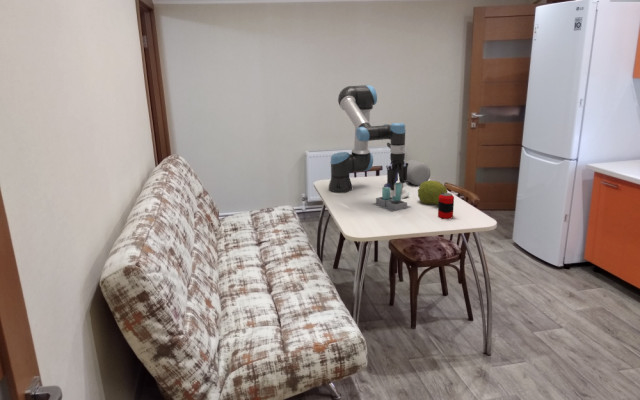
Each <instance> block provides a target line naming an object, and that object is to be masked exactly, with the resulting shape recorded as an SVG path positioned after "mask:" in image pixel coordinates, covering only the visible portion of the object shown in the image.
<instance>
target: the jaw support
mask: <svg viewBox="0 0 640 400" xmlns="http://www.w3.org/2000/svg"><path fill="white" fill-rule="evenodd" d="M409 195H410V193H409V192H408V190H407V189H406V188H405V187H403V195H401V200H403V199H405V198H406V197H407V198H408V196H409ZM390 197H392V198H393V196H392V195H391V188H390Z"/></svg>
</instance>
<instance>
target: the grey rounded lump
mask: <svg viewBox="0 0 640 400" xmlns="http://www.w3.org/2000/svg"><path fill="white" fill-rule="evenodd" d="M405 163H408V167H407V181H406V182H408V183H410V184H412V185H414V186H416V187H417V186H418V187H420V185H421V184H422V183H423V182H426V181H430V177H431V168H429V166H428V165H427V164H426V163H423V162H421V161H419V160H415V159H409V160H407V161H405ZM404 179H405V178H404Z"/></svg>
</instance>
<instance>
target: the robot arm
mask: <svg viewBox="0 0 640 400" xmlns="http://www.w3.org/2000/svg"><path fill="white" fill-rule="evenodd" d="M337 101H338V106H339V107H340V108H341V110H342V111H344V113H346V115H347V116H348V118H349V120H350V121H351V123H352V125H354V128H355V129H354V145H353V148H352V149H351V153H349V151H341V152H340V151H339V152H337V153H334V154H332V155H331V156H330V180H329V185H328V191H329V192H332V193H340V194H341V193H348V192H349V193H350V192H351V191H352V190H353V184H352V180H351V179H350V173H359V172H360V173H361V172H362V173H364V172H367V171H369V170H371V169H372V167H373V164H374V158H373V157H374V156H373V154H372V152H371V150H370V149H369V142H370V141H380V140H382V141H383V140H390V144H391V147H390V148H389V149H390V155H389V157H390V158H389V159H390V164H389V165H386V167H385V168H386V171H387V173H386V175H387V176H386V178H387V179H386V181H387V182H386V183H389V184H391V195H392V196H394V197H395V196H396V184H395V179H396V173H397V171H398V181H399V182H398V181H397V183H401V195H403V188H404V185H405V184H406V182H408V181H407V167H408V163H406V162H405V158H406V157H405V154H406V153H405V152H406V124H405V123H403V122H392V123H391V124H389V123H388V124H386V123H385V124H382V125H371V124H370V119H371V117H370V116H371V111H372V110H373V109H374V106H375V105H376V104H377V102H378V93H377V91H376V89H375V87H374V86H373V85H368V84H367V85H366V84H364V85H362V84H361V85H349V86H346V87H344V88H342V90H341V91H339V94H338V98H337ZM404 178H405V179H404Z"/></svg>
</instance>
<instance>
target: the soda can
mask: <svg viewBox="0 0 640 400" xmlns="http://www.w3.org/2000/svg"><path fill="white" fill-rule="evenodd" d="M454 203H455V196H454V195H453V194H452V193H450V192H447V193H441V194H440V196H439V202H438V205H437V217H438V218H440V219H443V220H447V219H448V220H449V219H452V218H453V217H454V205H455V204H454Z"/></svg>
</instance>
